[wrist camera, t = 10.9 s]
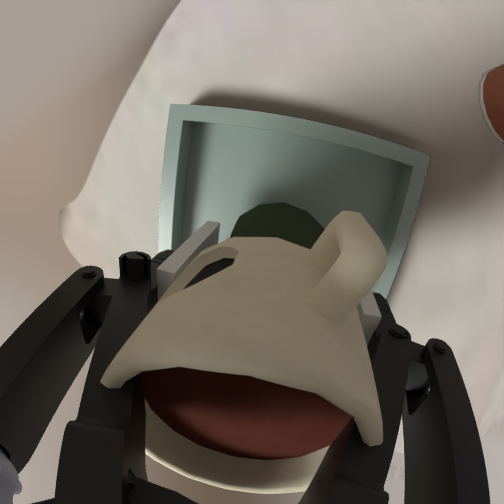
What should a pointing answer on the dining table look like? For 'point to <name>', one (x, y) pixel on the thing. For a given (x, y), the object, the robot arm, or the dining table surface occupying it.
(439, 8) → the dining table surface
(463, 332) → the dining table surface
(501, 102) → the coffee cup
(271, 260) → the character mug
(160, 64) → the dining table surface
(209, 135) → the tray
